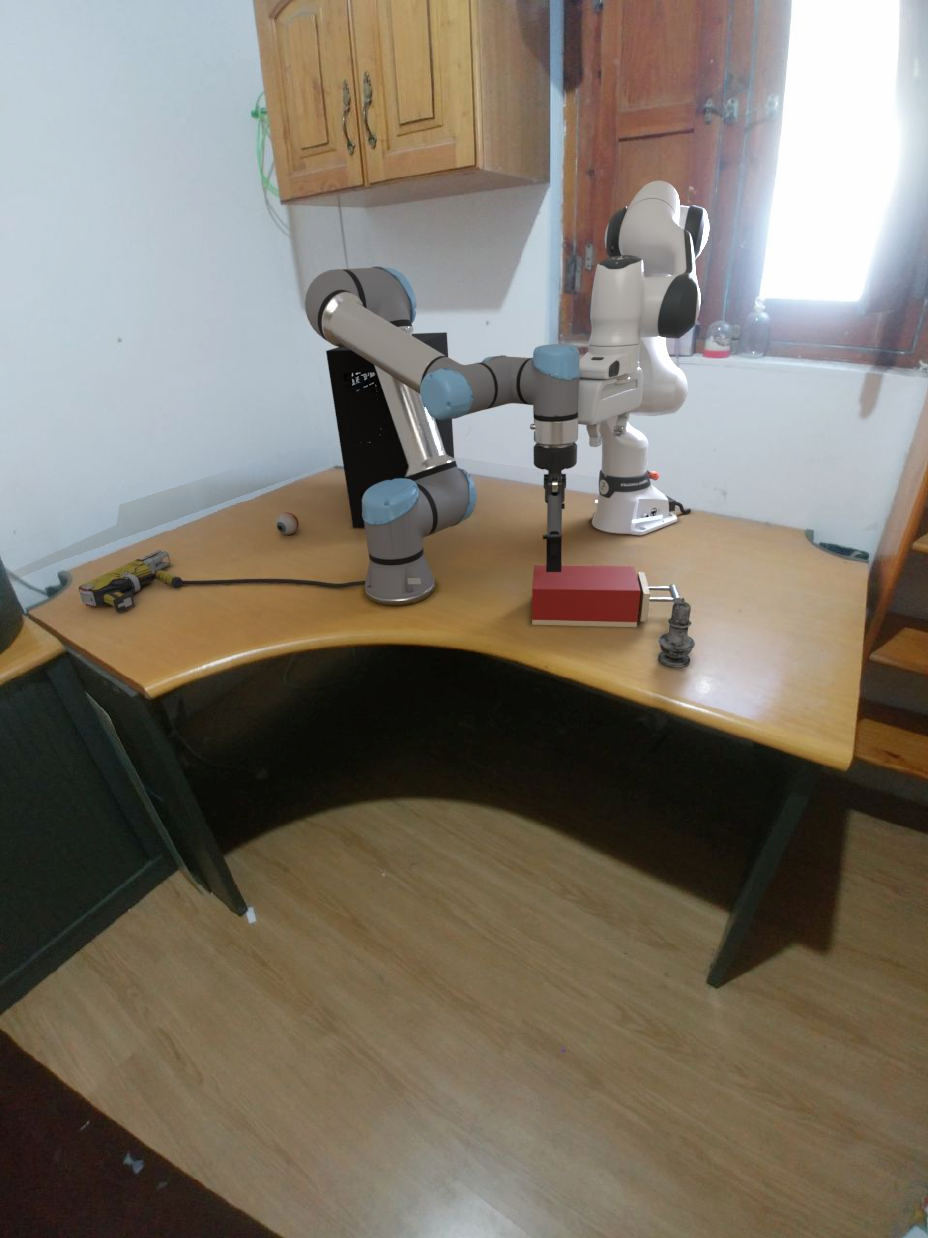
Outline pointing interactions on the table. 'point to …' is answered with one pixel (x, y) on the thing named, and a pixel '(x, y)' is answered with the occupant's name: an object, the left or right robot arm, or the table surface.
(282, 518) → the eyeball
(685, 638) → the chess piece
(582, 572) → the cabinet
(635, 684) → the table surface
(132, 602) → the toy gun
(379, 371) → the left robot arm
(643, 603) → the drawer
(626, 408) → the right robot arm
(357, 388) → the cardboard box
